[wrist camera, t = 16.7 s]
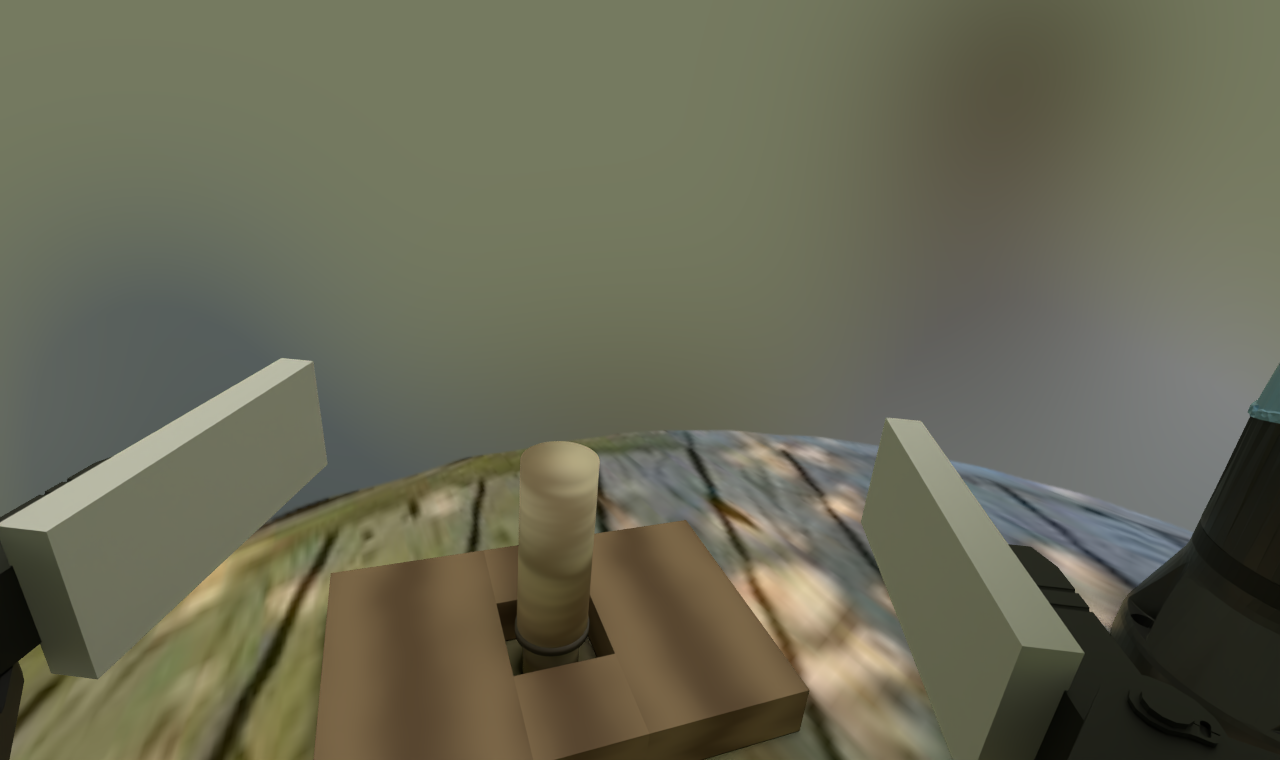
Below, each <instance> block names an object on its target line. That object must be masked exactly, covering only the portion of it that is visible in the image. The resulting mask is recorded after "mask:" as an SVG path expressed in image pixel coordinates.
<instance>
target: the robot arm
mask: <svg viewBox="0 0 1280 760" xmlns="http://www.w3.org/2000/svg"><path fill="white" fill-rule="evenodd" d="M1248 413H1249V414H1250V418H1249V420H1248V422H1247V424H1246V426H1245V428H1244V431H1243V433H1242V435H1241V437H1240V439H1239V441H1238V443H1237V445H1236V447H1235V449H1234V451H1233V453H1232V455H1231V458H1230V460H1229V462H1228V464H1227V466H1226V468H1225V470H1224V472H1223V474H1222V476H1221V478H1220V480H1219V482H1218V484H1217V486H1216V489H1215V491H1214V492H1213V494H1212V497H1211V498H1210V500H1209V502H1208V504H1207V506H1206V508H1205V510H1204V512H1203V514H1202V517H1201V519H1200V521H1199V523H1198V525H1197V527H1196V529H1195V531H1194V533H1193V535H1192V537H1191V539H1190V541H1189V542H1188V543H1187V545H1186V546H1185V547H1183V548H1182V549H1181V550H1180V551H1179V552H1178V553H1176V554H1175V555H1174V556H1173V557H1172V558H1170V559H1169V560H1168V561H1167V562H1166V563H1164V564H1163V565H1162V566H1161V567H1160V568H1158V569H1157V570H1156V571H1155V572H1154V573H1152V574H1151V575H1150V576H1149V577H1148V578H1147V579H1145V580H1144V581H1143V582H1142V583H1141V584H1139V585H1138V586H1137V587H1136V588H1135V589H1133V590H1132V591H1131V592H1130V593H1129V594H1128V595H1127V597H1126V598H1125V599H1124V601H1123V603H1122V605H1121V607H1120V609H1119V611H1118V613H1117V616H1116V618H1115V620H1114V622H1113V624H1112V628H1111V635H1110V634H1109V632H1108V631H1107V630H1106V628H1105V627H1104V626H1103V625H1102V623H1101V622H1100V621H1099V619H1098V618H1097V617H1096V616H1095V614H1094V613H1093V612H1089V607H1088V605H1087V604H1086V603H1085V601H1084V600H1083V599H1082V598H1081V596H1080V595H1079V594H1077V593H1075V589H1074V587H1073V586H1072V585H1071V583H1070V582H1069V581H1068V580H1067V578H1066V577H1065V576H1064V574H1063V573H1062V572H1061V571H1060V569H1059V568H1058V567H1057V566H1056V565H1054V564H1053V563H1052V562H1050V561H1049V560H1048V559H1046V558H1045V557H1044V556H1042V555H1041V554H1040V553H1038V552H1037V551H1036V550H1034V549H1033V548H1032V547H1028V546H1019V545H1010V544H1007V542H1006V541H1005V539H1004V538H1003V537H1002V535H1001V534H1000V532H999V531H998V529H997V528H996V527H995V525H994V524H993V522H992V521H991V519H990V518H989V517H988V515H987V514H986V512H985V511H984V510H983V508H982V507H981V505H980V504H979V502H978V501H977V500H976V498H975V497H974V495H973V494H972V493H971V491H970V490H969V488H968V487H967V485H966V484H965V483H964V481H963V480H962V478H961V477H960V475H959V474H958V473H957V471H956V470H955V468H954V467H953V466H952V464H951V463H950V461H949V460H948V458H947V457H946V456H945V454H944V453H943V451H942V450H941V449H940V447H939V446H938V444H937V443H936V442H935V440H934V439H933V437H932V436H931V434H930V433H929V431H928V430H927V429H926V427H925V426H924V424H923V423H922V422H921V421H913V420H904V419H893V418H886V420H885V424H884V428H883V433H882V436H881V440H880V445H879V449H878V453H877V457H876V461H875V465H874V470H873V474H872V478H871V482H870V486H869V491H868V495H867V499H866V503H865V507H864V511H863V516H862V520H861V523H862V526H863V528H864V531H865V533H866V536H867V539H868V541H869V544H870V546H871V549H872V552H873V554H874V557H875V559H876V562H877V565H878V567H879V570H880V572H881V575H882V578H883V580H884V583H885V585H886V588H887V591H888V593H889V596H890V598H891V601H892V604H893V606H894V609H895V611H896V614H897V617H898V619H899V622H900V624H901V627H902V630H903V632H904V635H905V637H906V640H907V643H908V645H909V648H910V650H911V653H912V656H913V658H914V661H915V663H916V666H917V669H918V671H919V674H920V676H921V679H922V682H923V684H924V687H925V689H926V692H927V695H928V697H929V700H930V702H931V705H932V708H933V710H934V713H935V715H936V718H937V721H938V723H939V726H940V728H941V731H942V734H943V736H944V739H945V741H946V744H947V747H948V749H949V752H950V754H951V757H952V760H1280V363H1279V365H1278V367H1277V368H1276V370H1275V371H1274V373H1273V375H1272V377H1271V378H1270V380H1269V382H1268V383H1267V385H1266V387H1265V389H1264V390H1263V392H1262V394H1261V396H1260V397H1259V399H1258V400H1256V401H1255V402H1253V403H1252V404H1251V405H1250V408H1249V410H1248ZM326 465H327V458H326V450H325V443H324V436H323V429H322V421H321V414H320V407H319V400H318V393H317V385H316V379H315V371H314V364H313V361H304V360H295V359H285V358H281V359H279V360H278V361H276V362H274V363H273V364H271V365H269V366H267V367H266V368H264V369H262V370H261V371H259V372H257V373H255V374H254V375H252V376H250V377H249V378H247V379H245V380H243V381H242V382H240V383H238V384H236V385H235V386H233V387H231V388H230V389H228V390H226V391H225V392H223V393H221V394H219V395H218V396H216V397H214V398H212V399H211V400H209V401H207V402H206V403H204V404H202V405H200V406H199V407H197V408H195V409H194V410H192V411H190V412H188V413H187V414H185V415H184V416H182V417H180V418H178V419H177V420H175V421H173V422H171V423H170V424H168V425H166V426H164V427H163V428H161V429H160V430H158V431H156V432H154V433H152V434H151V435H149V436H147V437H146V438H144V439H142V440H141V441H139V442H137V443H135V444H134V445H132V446H130V447H128V448H127V449H125V450H123V451H122V452H120V453H118V454H116V455H115V456H112V457H110V458H107V459H105V460H102V461H99V462H96V463H94V464H92V465H90V466H88V467H87V468H85V469H83V470H82V471H80V472H78V473H76V474H75V475H73V476H72V477H69V478H68V479H67V482H61V483H59V484H58V485H56V486H54V487H52V488H50V489H49V490H47V491H45V494H44V495H38V496H36V497H35V498H33V499H31V500H30V501H28V502H26V503H25V504H23V505H21V506H19V507H18V508H16V509H14V510H12V511H10V512H9V513H7V514H5V515H4V516H2V517H0V760H9V759H10V754H11V748H12V743H13V738H14V732H15V727H16V722H17V716H18V711H19V706H20V700H21V695H22V690H23V684H24V678H23V673H22V670H21V667H20V665H19V662H18V661H19V660H20V659H21V658H23V657H24V656H25V655H26V654H28V653H29V652H30V651H31V650H33V649H34V648H35V647H36V646H38V645H39V644H40V645H41V648H42V650H43V653H44V655H45V658H46V661H47V663H48V666H49V668H50V671H51V673H53V674H61V675H69V676H76V677H84V678H92V679H99V678H100V677H101V676H102V675H103V674H104V673H105V672H106V671H107V670H108V669H109V668H111V667H112V666H113V665H114V664H115V663H116V662H117V661H118V660H119V659H120V658H121V657H122V656H123V655H124V654H125V653H127V652H128V651H129V650H130V649H131V648H132V647H133V646H134V645H135V644H136V643H137V642H138V641H139V640H140V639H141V638H143V637H144V636H145V635H146V634H147V633H148V632H149V631H150V630H151V629H152V628H153V627H154V626H155V625H156V624H157V623H159V622H160V621H161V620H162V619H163V618H164V617H165V616H166V615H167V614H168V613H169V612H170V611H171V610H172V609H173V608H175V607H176V606H177V605H178V604H179V603H180V602H181V601H182V600H183V599H184V598H185V597H186V596H187V595H188V594H189V593H191V592H192V591H193V590H194V589H195V588H196V587H197V586H198V585H199V584H200V583H201V582H202V581H203V580H204V579H205V578H207V577H208V576H209V575H210V574H211V573H212V572H213V571H214V570H215V569H216V568H217V567H218V566H219V565H220V564H221V563H223V562H224V561H225V560H226V559H227V558H228V557H229V556H230V555H231V554H232V553H233V552H234V551H235V550H236V549H238V548H239V547H240V546H241V545H242V544H243V543H244V542H245V541H246V540H247V539H248V538H249V537H250V536H251V535H252V534H254V533H255V532H256V531H257V530H258V529H259V528H260V527H261V526H262V525H263V524H264V523H265V522H266V521H267V520H268V519H270V518H271V517H272V516H273V515H274V514H275V513H276V512H277V511H278V510H279V509H280V508H281V507H282V506H283V505H284V504H285V503H287V502H288V501H289V500H290V499H291V498H292V497H293V496H294V495H295V494H296V493H297V492H298V491H299V490H300V489H301V488H302V487H304V485H306V484H307V483H308V482H309V481H310V480H311V479H312V478H313V477H314V476H315V475H316V474H318V472H320V471H321V470H322V469H323V468H324V467H325V466H326Z"/></svg>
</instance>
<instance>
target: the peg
mask: <svg viewBox="0 0 1280 760" xmlns="http://www.w3.org/2000/svg"><path fill="white" fill-rule="evenodd" d="M599 463H600V460H599V457H598V455H597V454H596V453H595V452H594V451H593V450H591V449H590V448H588V447H586V446H583V445H580V444H577V443H572V442H564V441H552V442H545V443H540V444H537V445H534V446H532V447H530V448H528V449H527V450H526V451H524V453H523V454H522V456H521V459H520V503H519V547H518V592H517V616H516V619H515V636H516V638H517V640H518V642H519V643H520V645H521V646H522V647H523V674H526V673H530V672H535V671H540V670H544V669H549V668H553V667H558V666H562V665H567V664H571V663H576V662H578V652H579V647H580V646H581V645H582V644H583V643H584V641H585V640H586V638H587V636H588V632H589V616H588V610H589V597H590V583H591V570H592V557H593V543H594V530H595V516H596V503H597V490H598V476H599Z"/></svg>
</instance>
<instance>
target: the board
mask: <svg viewBox="0 0 1280 760" xmlns="http://www.w3.org/2000/svg"><path fill="white" fill-rule="evenodd" d="M518 547H519V545H517V546H510V547H504V548H497V549H490V550H484V551H477V552H470V553H464V554H457V555H450V556H444V557H437V558H430V559H424V560H417V561H410V562H403V563H397V564H390V565H383V566H377V567H370V568H363V569H357V570H350V571H343V572H337V573H331V577H330V587H329V598H328V609H327V620H326V631H325V642H324V652H323V663H322V674H321V685H320V696H319V706H318V717H317V728H316V739H315V750H314V760H702V759H706V758H709V757H712V756H716V755H719V754H722V753H726V752H729V751H732V750H736V749H739V748H743V747H746V746H749V745H753V744H756V743H759V742H763V741H766V740H769V739H773V738H776V737H779V736H783V735H786V734H790V733H793V732H796V731H799V730H800V726H801V722H802V718H803V714H804V710H805V706H806V702H807V698H808V694H809V689H808V687H807V686H806V685H805V683H804V682H803V681H802V679H801V678H800V676H799V675H798V674H797V672H796V671H795V670H794V668H793V667H792V665H791V664H790V663H789V661H788V660H787V659H786V657H785V656H784V654H783V653H782V652H781V650H780V649H779V648H778V646H777V645H776V643H775V642H774V641H773V639H772V638H771V637H770V635H769V634H768V632H767V631H766V630H765V628H764V627H763V625H762V624H761V623H760V621H759V620H758V619H757V617H756V616H755V614H754V613H753V612H752V610H751V609H750V608H749V606H748V605H747V603H746V602H745V601H744V599H743V598H742V597H741V595H740V594H739V592H738V591H737V590H736V588H735V587H734V586H733V584H732V583H731V581H730V580H729V579H728V577H727V576H726V575H725V573H724V572H723V570H722V569H721V568H720V566H719V565H718V564H717V562H716V561H715V559H714V558H713V557H712V555H711V554H710V553H709V551H708V550H707V548H706V547H705V546H704V544H703V543H702V542H701V540H700V539H699V537H698V536H697V535H696V533H695V532H694V531H693V529H692V528H691V526H690V525H689V524H688V522H687V521H686V520H684V521H678V522H671V523H664V524H658V525H651V526H644V527H637V528H631V529H624V530H617V531H611V532H604V533H597V534H594V543H593V557H592V570H591V583H590V597H589V610H588V616H589V632H588V635H589V638H590V641H591V643H592V646H593V648H594V651H595V653H596V656H597V658H594V659H589V660H585V661H580V662H576V663H571V664H567V665H562V666H558V667H553V668H549V669H544V670H540V671H535V672H530V673H526V674H521V675H517V676H513V672H512V668H511V664H510V659H509V655H508V651H507V647H506V643H505V640H510V639H515V638H516V636H515V619H516V616H517V592H518Z"/></svg>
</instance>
